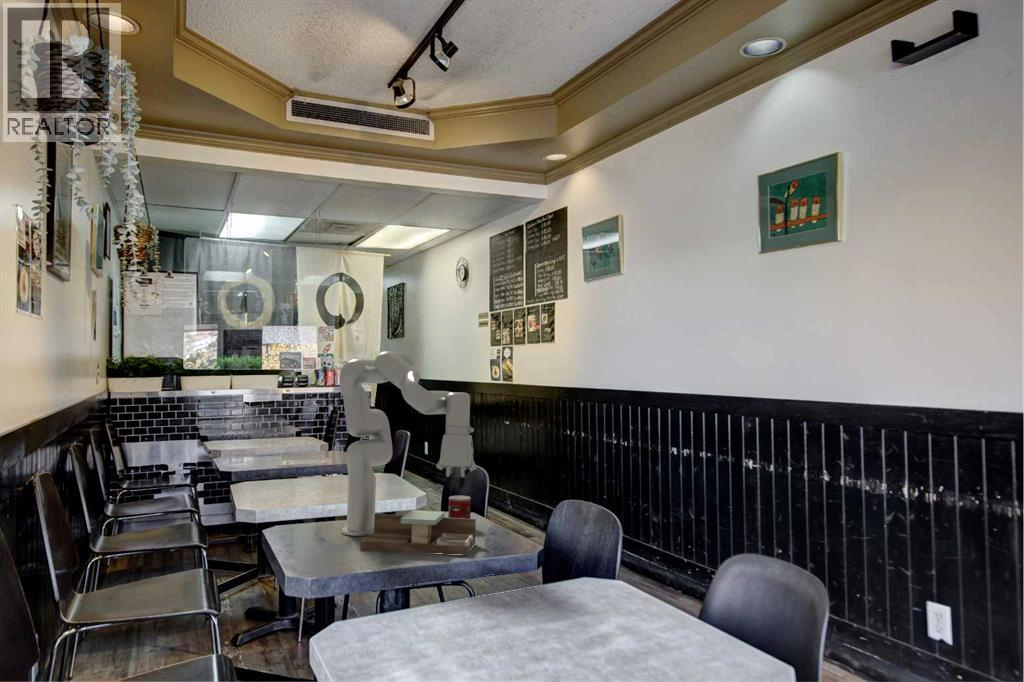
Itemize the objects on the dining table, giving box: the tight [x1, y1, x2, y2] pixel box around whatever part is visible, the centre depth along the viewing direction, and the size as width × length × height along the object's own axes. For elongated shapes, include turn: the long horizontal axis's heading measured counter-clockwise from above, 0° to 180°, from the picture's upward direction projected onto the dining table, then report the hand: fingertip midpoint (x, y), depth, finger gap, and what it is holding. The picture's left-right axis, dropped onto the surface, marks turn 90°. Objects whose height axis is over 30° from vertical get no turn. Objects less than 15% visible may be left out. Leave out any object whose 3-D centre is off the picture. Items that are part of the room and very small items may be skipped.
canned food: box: [447, 495, 472, 519], centre depth 238 cm, size 8×8×11 cm
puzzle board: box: [359, 513, 477, 556], centre depth 210 cm, size 14×34×8 cm, turn 83°
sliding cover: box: [401, 509, 446, 525], centre depth 211 cm, size 13×11×2 cm
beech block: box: [412, 524, 431, 544], centre depth 209 cm, size 5×5×8 cm
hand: (455, 488), depth 208 cm, fingers open, 2 cm apart
